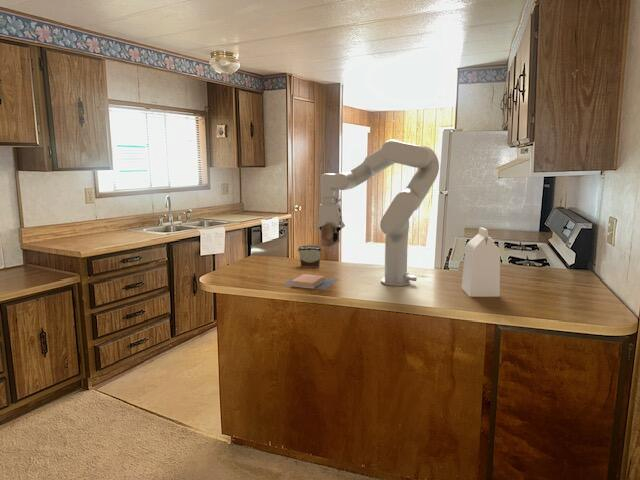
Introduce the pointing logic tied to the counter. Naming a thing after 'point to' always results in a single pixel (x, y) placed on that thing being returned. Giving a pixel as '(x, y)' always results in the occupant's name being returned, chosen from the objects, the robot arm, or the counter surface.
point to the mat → (322, 286)
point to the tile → (308, 281)
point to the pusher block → (328, 236)
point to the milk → (481, 266)
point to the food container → (310, 255)
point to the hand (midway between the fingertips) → (330, 240)
